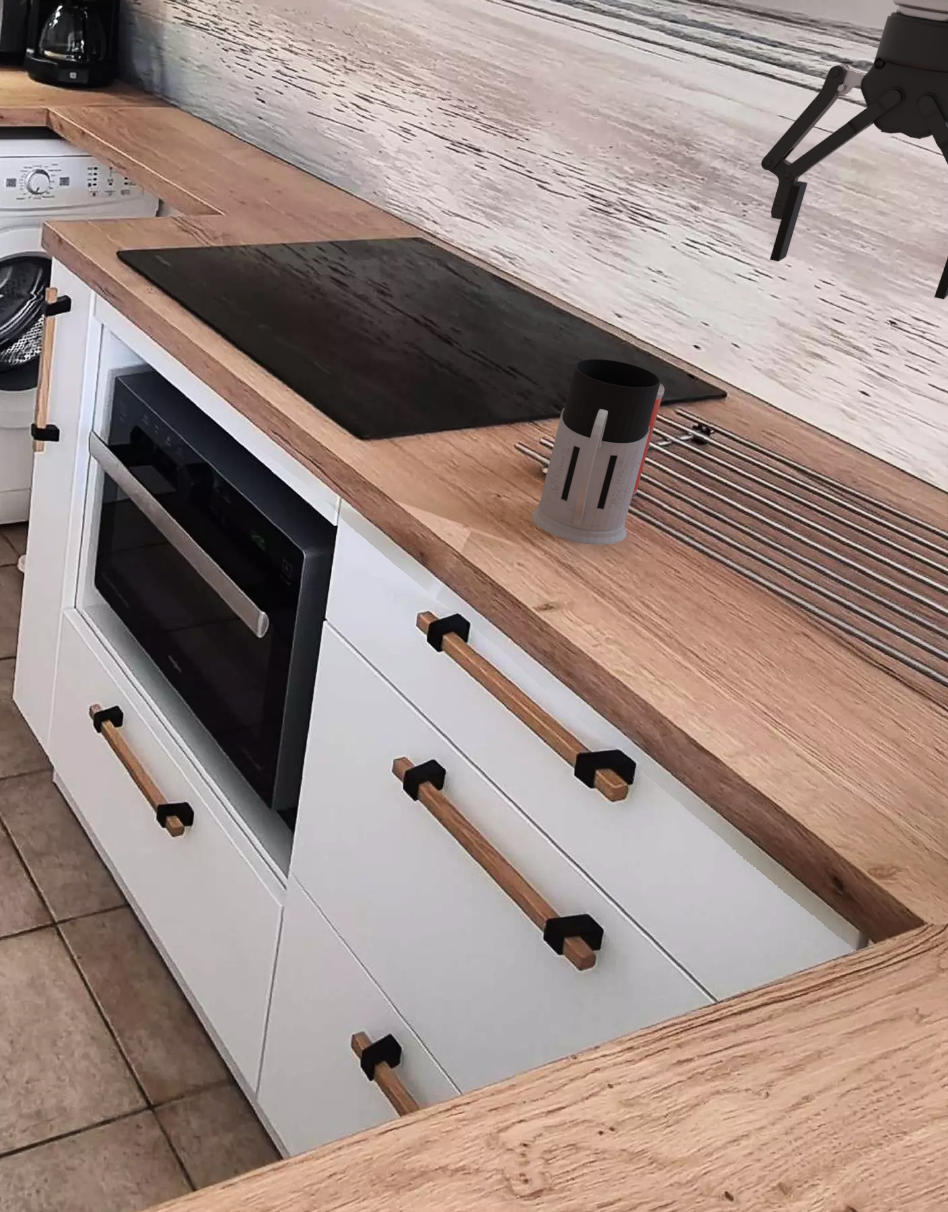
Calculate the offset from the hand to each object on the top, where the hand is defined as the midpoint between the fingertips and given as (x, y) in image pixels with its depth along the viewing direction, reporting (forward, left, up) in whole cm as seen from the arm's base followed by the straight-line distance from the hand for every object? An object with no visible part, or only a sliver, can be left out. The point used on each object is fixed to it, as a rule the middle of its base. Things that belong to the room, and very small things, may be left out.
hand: (857, 277), depth 136 cm
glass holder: (+14, +13, -26) cm, 32 cm away
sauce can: (+17, -1, -26) cm, 31 cm away
